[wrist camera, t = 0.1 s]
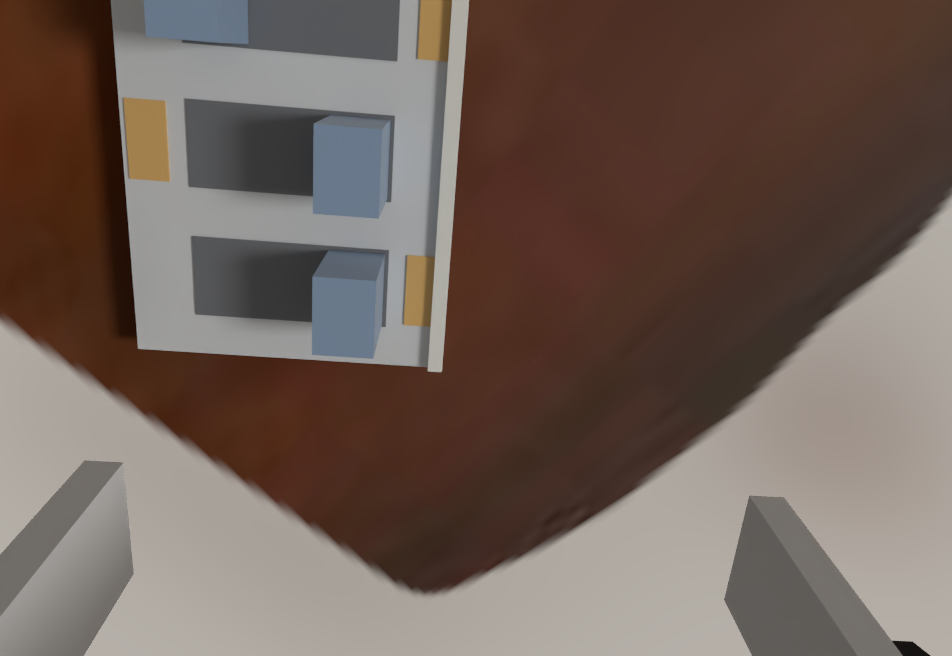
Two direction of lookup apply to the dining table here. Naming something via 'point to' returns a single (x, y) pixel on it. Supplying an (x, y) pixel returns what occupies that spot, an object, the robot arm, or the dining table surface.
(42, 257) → the dining table surface
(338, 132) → the tab
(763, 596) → the robot arm
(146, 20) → the tab
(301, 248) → the switch bank
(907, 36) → the dining table surface
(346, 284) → the tab
